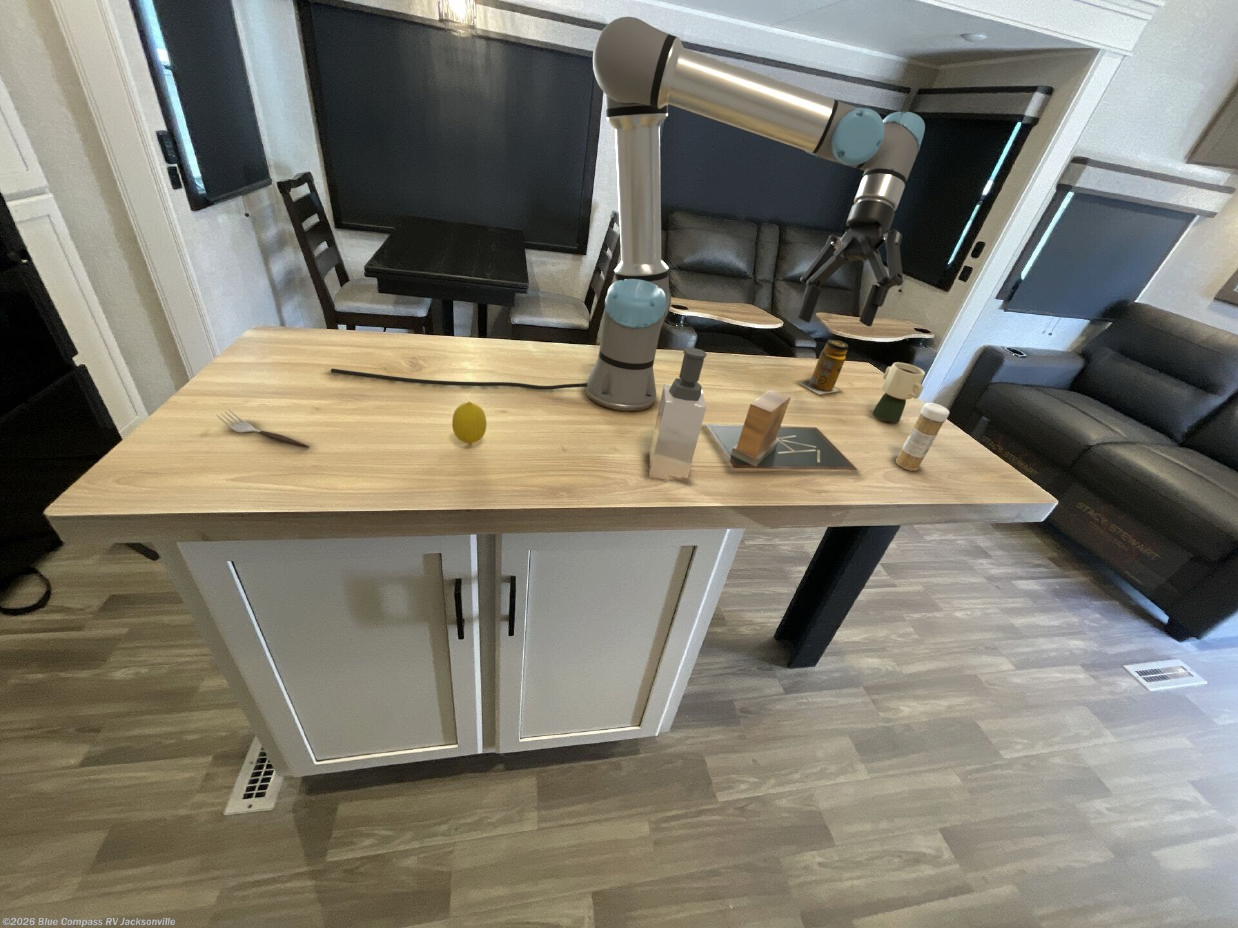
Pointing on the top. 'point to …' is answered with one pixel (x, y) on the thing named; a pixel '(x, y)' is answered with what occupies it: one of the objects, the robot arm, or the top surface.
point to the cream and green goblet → (898, 390)
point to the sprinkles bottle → (922, 436)
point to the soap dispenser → (679, 420)
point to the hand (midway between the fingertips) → (832, 322)
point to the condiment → (827, 368)
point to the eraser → (761, 428)
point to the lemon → (469, 422)
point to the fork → (248, 428)
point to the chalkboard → (786, 449)
